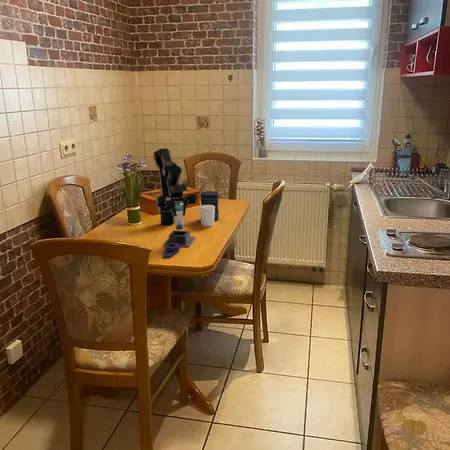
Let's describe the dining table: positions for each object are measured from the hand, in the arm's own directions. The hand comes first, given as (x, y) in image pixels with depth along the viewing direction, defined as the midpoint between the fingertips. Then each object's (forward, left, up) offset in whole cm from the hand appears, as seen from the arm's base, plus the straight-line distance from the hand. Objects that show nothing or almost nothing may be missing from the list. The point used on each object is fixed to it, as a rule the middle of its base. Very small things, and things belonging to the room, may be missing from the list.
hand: (179, 215), depth 212 cm
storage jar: (+5, +41, -14) cm, 44 cm away
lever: (-1, -14, -14) cm, 20 cm away
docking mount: (-1, +1, -13) cm, 13 cm away
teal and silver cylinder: (-1, +1, -7) cm, 7 cm away
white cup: (+6, +31, -14) cm, 34 cm away
